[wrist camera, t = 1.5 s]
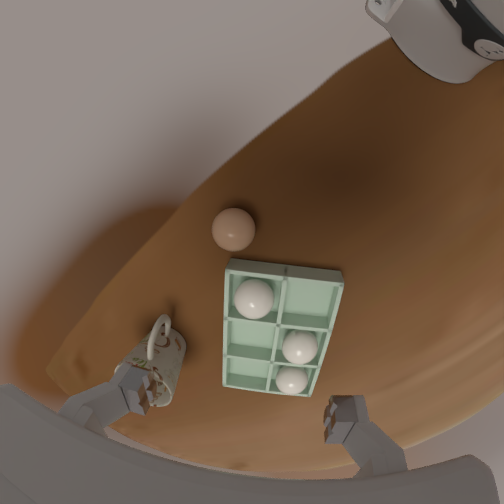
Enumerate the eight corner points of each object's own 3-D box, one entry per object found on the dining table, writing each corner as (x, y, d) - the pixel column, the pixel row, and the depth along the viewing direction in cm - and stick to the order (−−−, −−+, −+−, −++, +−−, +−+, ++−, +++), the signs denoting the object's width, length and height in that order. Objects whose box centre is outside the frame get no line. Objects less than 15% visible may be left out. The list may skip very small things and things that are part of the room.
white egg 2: (285, 320, 35) (283, 342, 30) (320, 323, 34) (322, 346, 30) (280, 346, 36) (278, 370, 32) (313, 350, 36) (314, 373, 32)
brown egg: (218, 202, 31) (206, 211, 27) (259, 205, 30) (254, 216, 26) (217, 240, 33) (206, 255, 28) (256, 245, 32) (250, 260, 28)
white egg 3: (278, 355, 37) (276, 378, 33) (310, 358, 37) (311, 382, 32) (274, 376, 39) (272, 399, 35) (304, 379, 38) (304, 402, 34)
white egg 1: (238, 269, 33) (230, 288, 29) (277, 274, 32) (275, 294, 28) (236, 302, 35) (229, 323, 30) (273, 307, 34) (270, 329, 30)
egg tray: (230, 258, 33) (225, 269, 30) (340, 271, 32) (344, 283, 29) (226, 371, 40) (222, 386, 38) (310, 382, 39) (310, 396, 36)
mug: (144, 350, 42) (117, 392, 32) (144, 288, 37) (107, 329, 28) (191, 367, 41) (171, 414, 32) (200, 306, 36) (174, 355, 27)
